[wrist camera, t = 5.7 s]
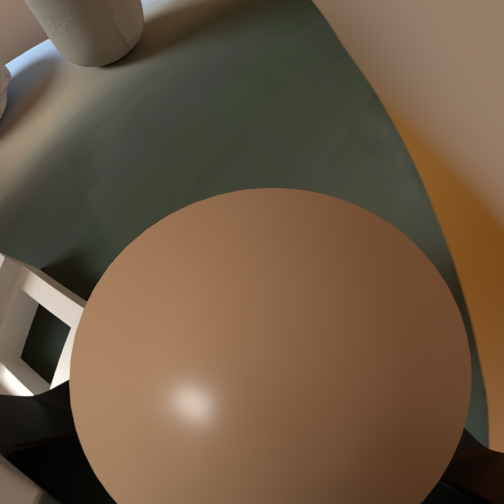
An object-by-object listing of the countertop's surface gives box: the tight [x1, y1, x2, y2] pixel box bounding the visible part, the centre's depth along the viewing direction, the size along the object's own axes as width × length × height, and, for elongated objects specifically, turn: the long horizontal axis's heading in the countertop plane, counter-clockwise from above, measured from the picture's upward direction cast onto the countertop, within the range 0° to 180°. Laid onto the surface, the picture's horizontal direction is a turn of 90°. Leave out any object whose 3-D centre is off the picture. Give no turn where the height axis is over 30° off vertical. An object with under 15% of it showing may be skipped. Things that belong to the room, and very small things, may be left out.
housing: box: [0, 253, 87, 396], centre depth 16 cm, size 12×11×5 cm
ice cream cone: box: [69, 188, 471, 504], centre depth 9 cm, size 4×4×14 cm
